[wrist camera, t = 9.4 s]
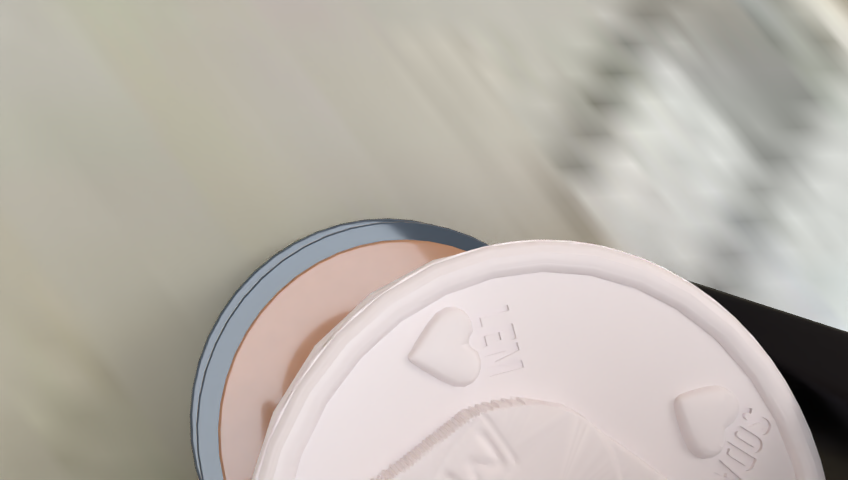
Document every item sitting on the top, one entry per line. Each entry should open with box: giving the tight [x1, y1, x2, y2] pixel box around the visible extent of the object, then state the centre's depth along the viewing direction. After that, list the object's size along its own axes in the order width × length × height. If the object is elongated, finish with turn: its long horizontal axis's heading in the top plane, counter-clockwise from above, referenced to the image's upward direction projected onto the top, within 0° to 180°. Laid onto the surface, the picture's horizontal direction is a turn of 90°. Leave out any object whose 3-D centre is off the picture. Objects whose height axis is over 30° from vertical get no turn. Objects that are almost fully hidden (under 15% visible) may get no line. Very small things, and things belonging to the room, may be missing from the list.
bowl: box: [190, 218, 489, 480], centre depth 18 cm, size 11×11×4 cm
